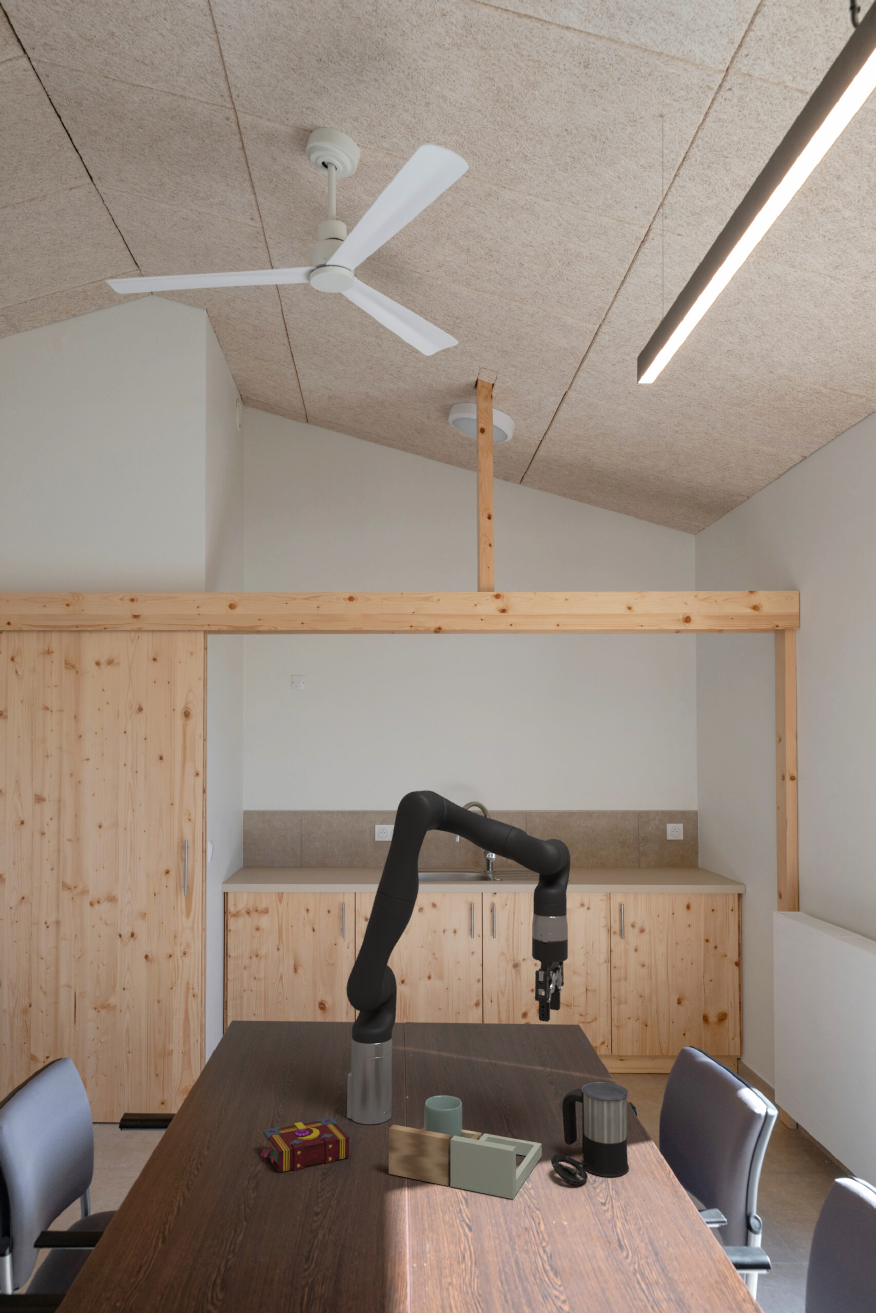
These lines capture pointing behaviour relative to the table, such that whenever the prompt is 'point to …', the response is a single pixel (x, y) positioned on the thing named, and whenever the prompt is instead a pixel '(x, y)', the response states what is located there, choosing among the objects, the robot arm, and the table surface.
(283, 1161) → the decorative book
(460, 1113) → the cup
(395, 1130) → the wooden drawer
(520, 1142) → the frame
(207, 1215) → the table surface
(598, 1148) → the milk frother
